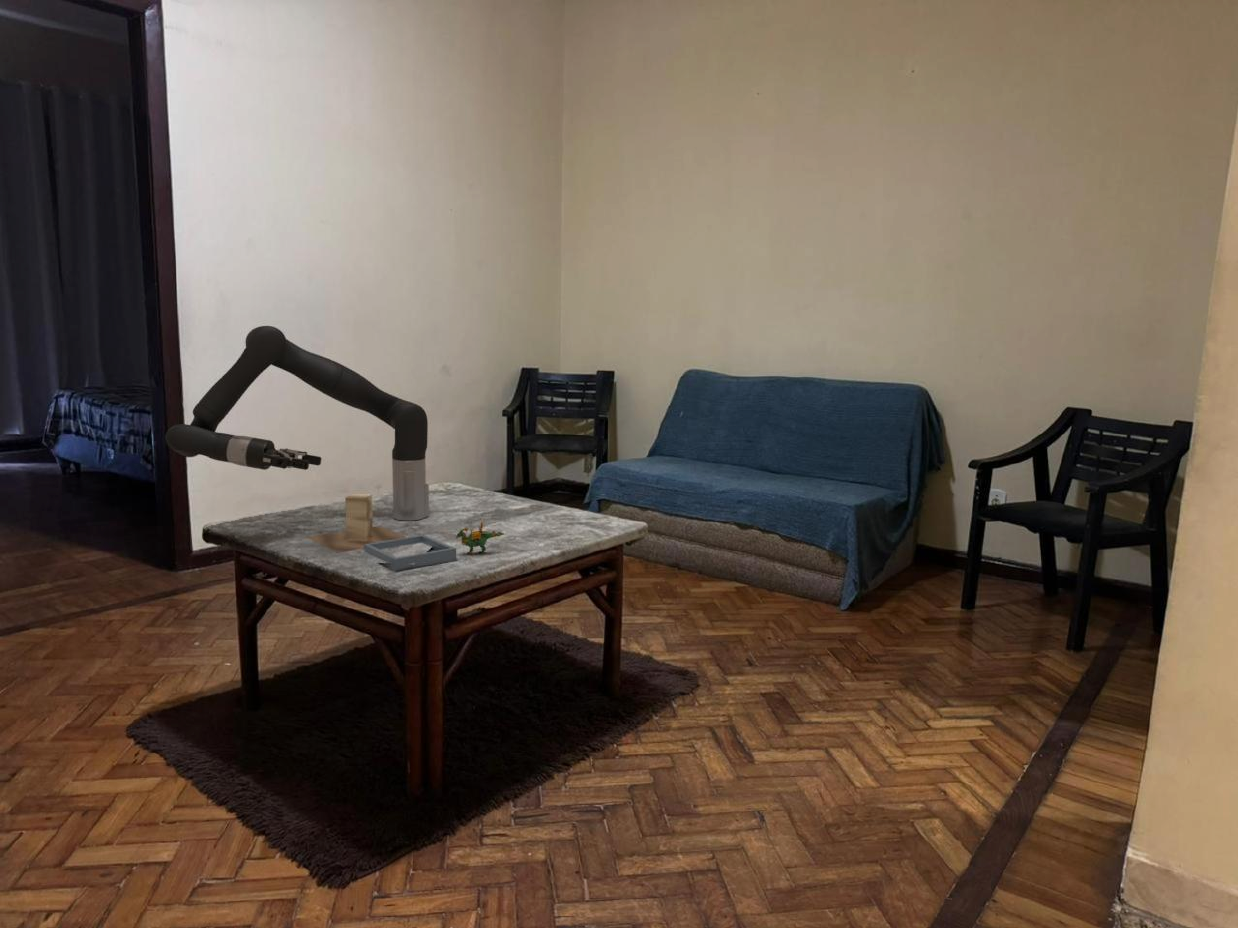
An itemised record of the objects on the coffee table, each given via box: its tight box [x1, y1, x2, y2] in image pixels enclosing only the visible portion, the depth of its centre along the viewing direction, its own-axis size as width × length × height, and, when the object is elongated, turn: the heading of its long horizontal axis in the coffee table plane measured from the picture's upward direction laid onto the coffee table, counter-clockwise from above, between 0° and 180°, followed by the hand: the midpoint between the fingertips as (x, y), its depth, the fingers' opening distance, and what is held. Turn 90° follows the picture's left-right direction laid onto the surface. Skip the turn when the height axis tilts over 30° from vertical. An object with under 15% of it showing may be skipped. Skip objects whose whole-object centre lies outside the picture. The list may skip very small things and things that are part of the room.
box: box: [363, 534, 457, 573], centre depth 210 cm, size 16×16×3 cm
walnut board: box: [307, 525, 407, 553], centre depth 222 cm, size 20×18×2 cm
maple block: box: [344, 493, 374, 541], centre depth 221 cm, size 5×5×11 cm
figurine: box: [455, 521, 505, 556], centre depth 216 cm, size 3×12×8 cm, turn 107°
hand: (314, 463), depth 219 cm, fingers open, 8 cm apart
